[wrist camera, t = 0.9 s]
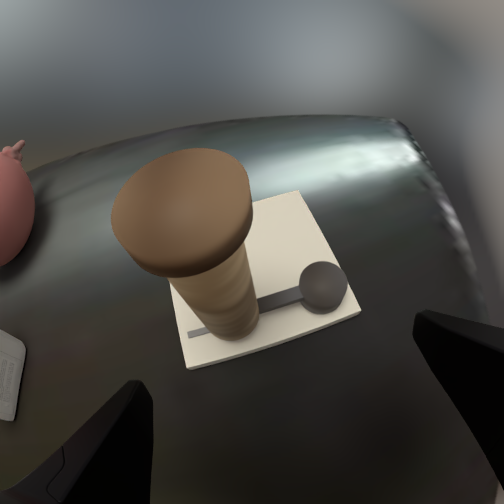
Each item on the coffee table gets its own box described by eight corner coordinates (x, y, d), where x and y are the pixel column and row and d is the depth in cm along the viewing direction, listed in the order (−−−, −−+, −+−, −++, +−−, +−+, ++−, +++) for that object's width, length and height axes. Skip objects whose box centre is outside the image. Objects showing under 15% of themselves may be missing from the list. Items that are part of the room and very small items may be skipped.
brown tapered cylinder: (328, 258, 23) (357, 112, 12) (354, 314, 20) (426, 185, 9) (195, 299, 22) (115, 172, 11) (209, 361, 19) (109, 276, 8)
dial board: (297, 196, 29) (297, 188, 28) (358, 314, 21) (361, 309, 20) (165, 236, 28) (161, 229, 26) (190, 369, 20) (186, 367, 19)
